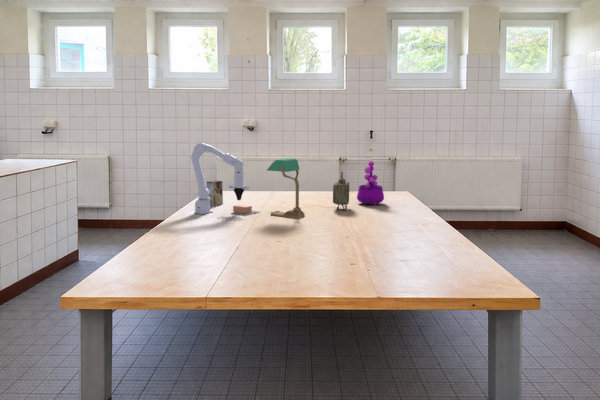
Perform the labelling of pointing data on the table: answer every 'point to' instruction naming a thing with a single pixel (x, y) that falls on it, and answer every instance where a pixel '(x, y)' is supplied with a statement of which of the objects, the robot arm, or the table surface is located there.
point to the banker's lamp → (288, 166)
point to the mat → (245, 214)
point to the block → (242, 209)
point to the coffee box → (215, 192)
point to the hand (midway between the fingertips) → (239, 200)
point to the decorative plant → (370, 188)
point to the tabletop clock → (341, 192)
